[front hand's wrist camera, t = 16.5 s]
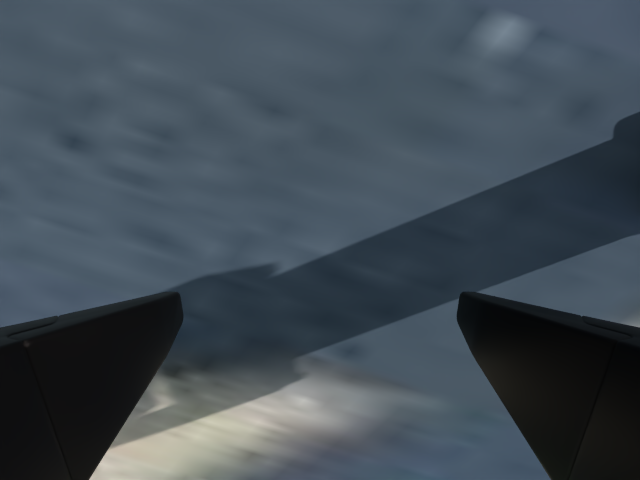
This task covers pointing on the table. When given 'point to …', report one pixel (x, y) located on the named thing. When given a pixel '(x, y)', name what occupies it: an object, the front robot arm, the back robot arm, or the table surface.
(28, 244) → the table surface
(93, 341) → the front robot arm
